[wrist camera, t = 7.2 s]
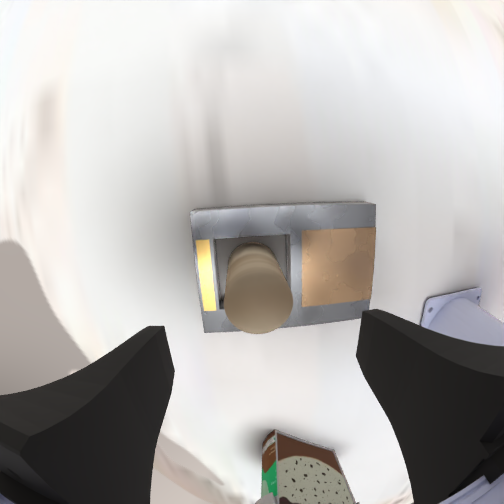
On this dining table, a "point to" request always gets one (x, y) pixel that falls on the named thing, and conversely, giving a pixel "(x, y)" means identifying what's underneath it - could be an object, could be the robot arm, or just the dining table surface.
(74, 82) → the dining table surface
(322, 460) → the food container
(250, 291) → the peg
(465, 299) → the robot arm
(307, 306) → the plate
